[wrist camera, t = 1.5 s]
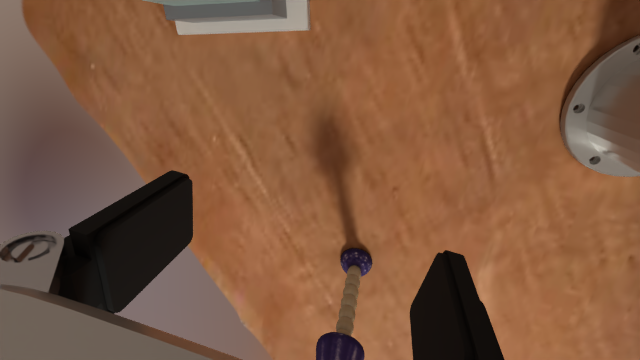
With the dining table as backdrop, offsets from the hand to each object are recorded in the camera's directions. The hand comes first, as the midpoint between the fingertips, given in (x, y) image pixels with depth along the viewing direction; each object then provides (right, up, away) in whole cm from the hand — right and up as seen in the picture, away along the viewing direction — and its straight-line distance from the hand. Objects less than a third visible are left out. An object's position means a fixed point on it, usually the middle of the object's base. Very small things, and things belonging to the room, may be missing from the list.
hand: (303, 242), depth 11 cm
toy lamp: (+5, -9, +29) cm, 30 cm away
